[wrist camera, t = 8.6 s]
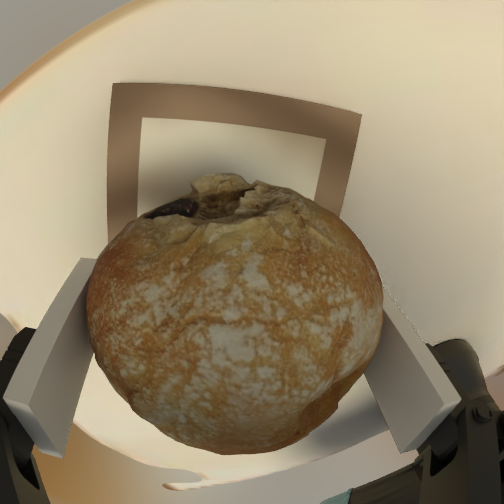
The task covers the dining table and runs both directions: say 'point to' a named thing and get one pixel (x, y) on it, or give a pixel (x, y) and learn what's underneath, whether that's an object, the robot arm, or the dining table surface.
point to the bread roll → (235, 315)
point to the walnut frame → (221, 145)
